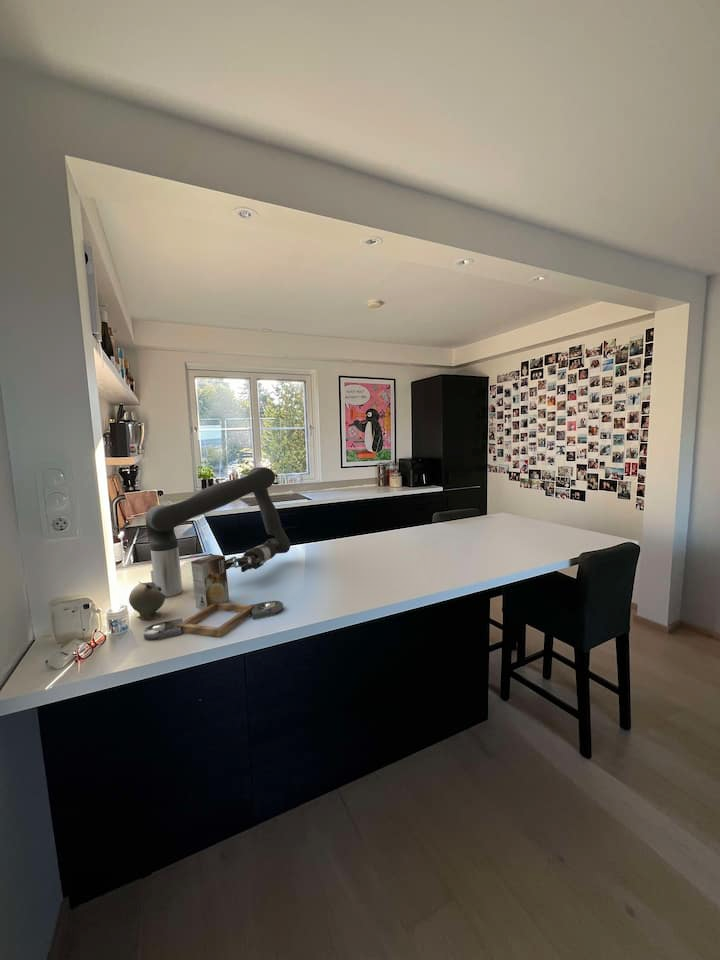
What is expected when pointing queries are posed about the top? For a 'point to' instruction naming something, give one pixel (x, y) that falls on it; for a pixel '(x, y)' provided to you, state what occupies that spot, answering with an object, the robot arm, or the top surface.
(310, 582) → the top surface
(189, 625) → the wooden picture frame
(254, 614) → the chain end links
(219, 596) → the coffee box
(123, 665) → the top surface
